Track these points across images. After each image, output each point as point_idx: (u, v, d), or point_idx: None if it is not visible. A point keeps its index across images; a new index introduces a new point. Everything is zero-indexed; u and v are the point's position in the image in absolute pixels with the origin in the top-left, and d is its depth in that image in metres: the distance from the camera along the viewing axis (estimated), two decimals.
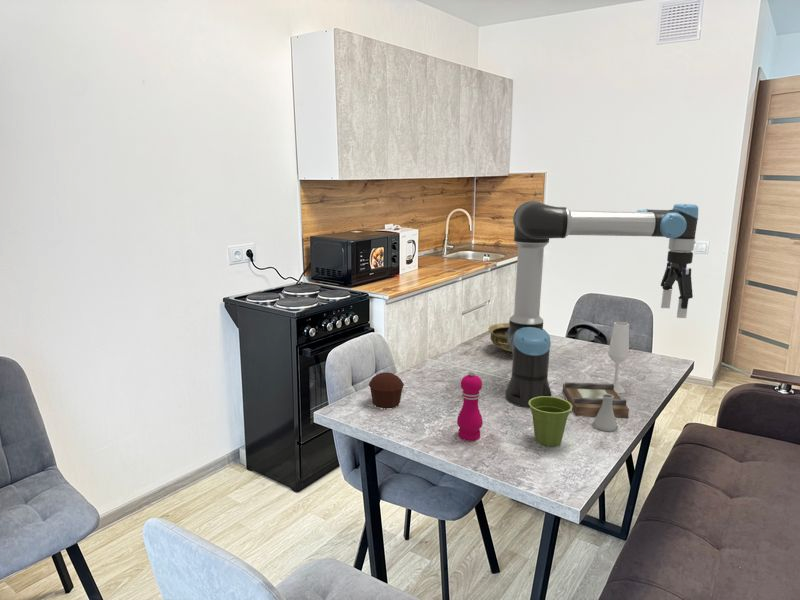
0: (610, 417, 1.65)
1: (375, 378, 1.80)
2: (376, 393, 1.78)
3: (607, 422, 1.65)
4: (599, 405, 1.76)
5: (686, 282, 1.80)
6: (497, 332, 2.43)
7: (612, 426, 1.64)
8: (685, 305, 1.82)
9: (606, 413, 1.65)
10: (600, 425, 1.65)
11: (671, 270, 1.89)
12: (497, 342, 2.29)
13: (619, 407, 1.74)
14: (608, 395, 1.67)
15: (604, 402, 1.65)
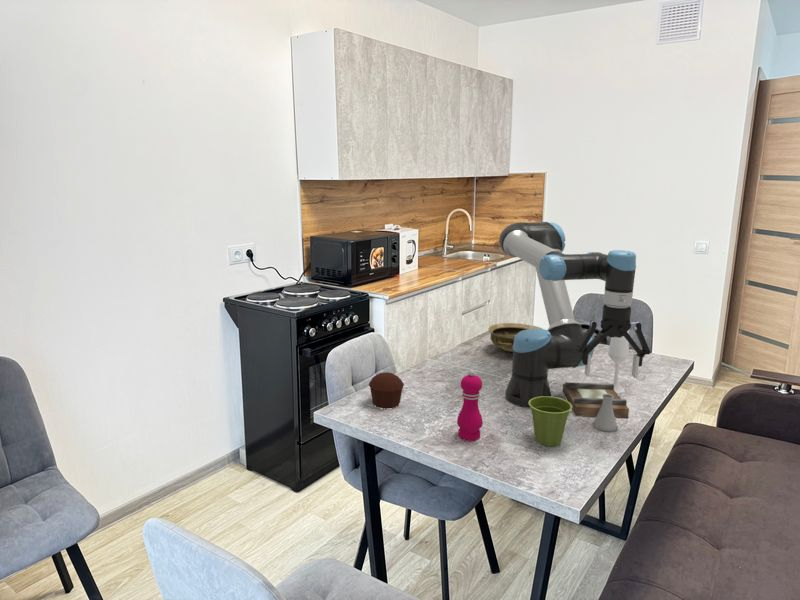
0: (610, 417, 1.65)
1: (375, 378, 1.80)
2: (376, 393, 1.78)
3: (607, 422, 1.65)
4: (599, 405, 1.76)
5: (585, 334, 1.62)
6: (497, 332, 2.43)
7: (612, 426, 1.64)
8: (583, 360, 1.63)
9: (606, 413, 1.65)
10: (600, 425, 1.65)
11: None
12: (497, 342, 2.29)
13: (619, 407, 1.74)
14: (608, 395, 1.67)
15: (604, 402, 1.65)
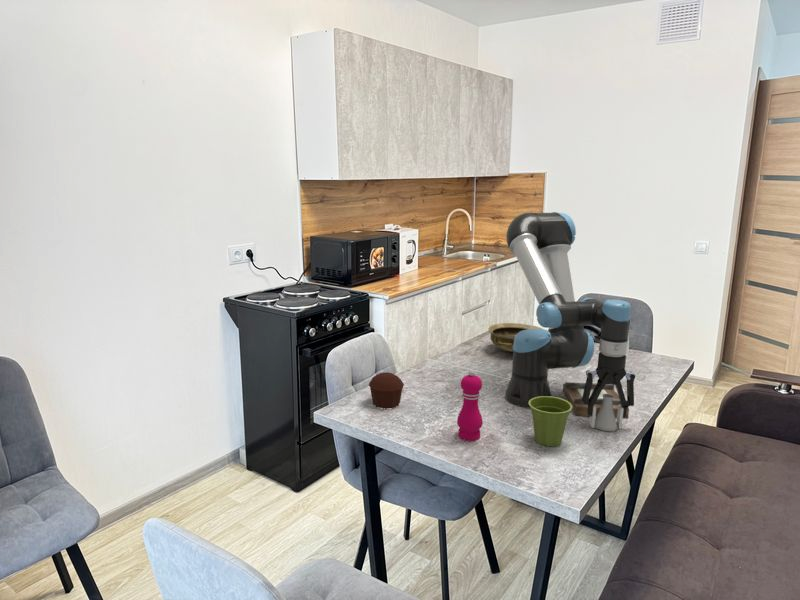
0: (610, 417, 1.65)
1: (375, 378, 1.80)
2: (376, 393, 1.78)
3: (607, 422, 1.65)
4: (599, 405, 1.76)
5: (585, 386, 1.66)
6: (497, 332, 2.43)
7: (612, 425, 1.64)
8: (588, 411, 1.67)
9: (606, 413, 1.65)
10: (600, 425, 1.65)
11: None
12: (497, 342, 2.29)
13: None
14: (608, 395, 1.67)
15: (604, 402, 1.65)
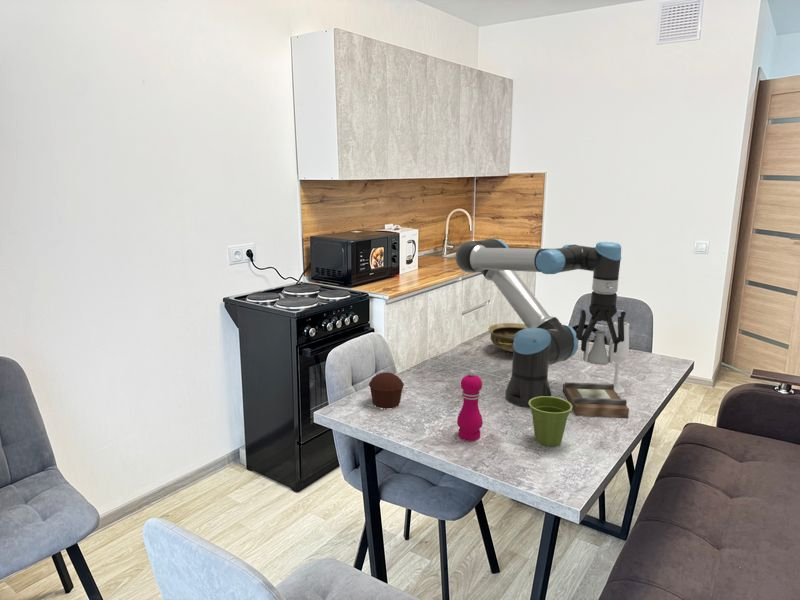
0: (602, 352, 1.77)
1: (375, 378, 1.80)
2: (376, 393, 1.78)
3: (599, 356, 1.77)
4: (599, 405, 1.76)
5: (579, 323, 1.79)
6: (497, 332, 2.43)
7: (604, 359, 1.77)
8: (581, 347, 1.80)
9: (599, 348, 1.78)
10: (592, 360, 1.78)
11: None
12: (497, 342, 2.29)
13: (619, 407, 1.74)
14: (600, 332, 1.79)
15: (597, 338, 1.78)
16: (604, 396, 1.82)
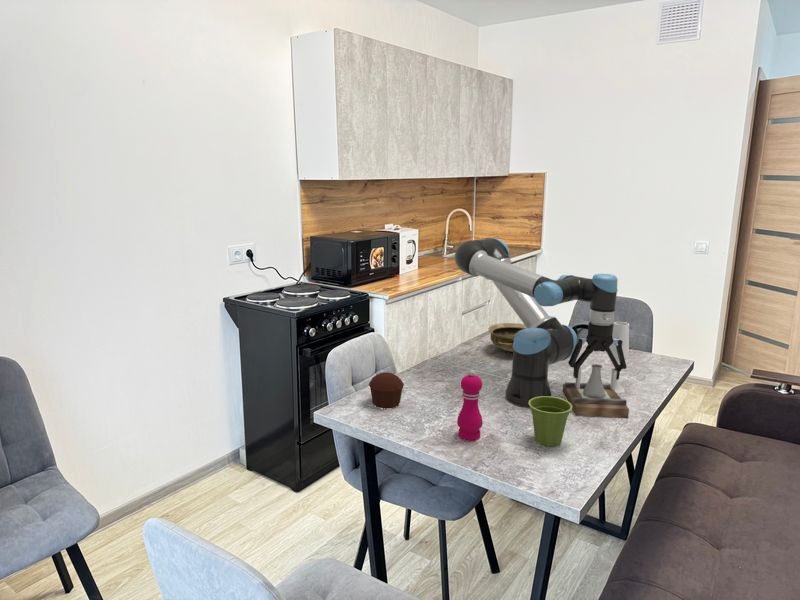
0: (599, 385, 1.80)
1: (375, 378, 1.80)
2: (376, 393, 1.78)
3: (596, 389, 1.80)
4: (599, 405, 1.76)
5: (574, 350, 1.81)
6: (497, 332, 2.43)
7: (601, 393, 1.80)
8: (574, 374, 1.82)
9: (595, 382, 1.81)
10: (589, 393, 1.81)
11: None
12: (497, 342, 2.29)
13: (619, 407, 1.74)
14: (597, 365, 1.82)
15: (593, 371, 1.81)
16: (604, 396, 1.82)
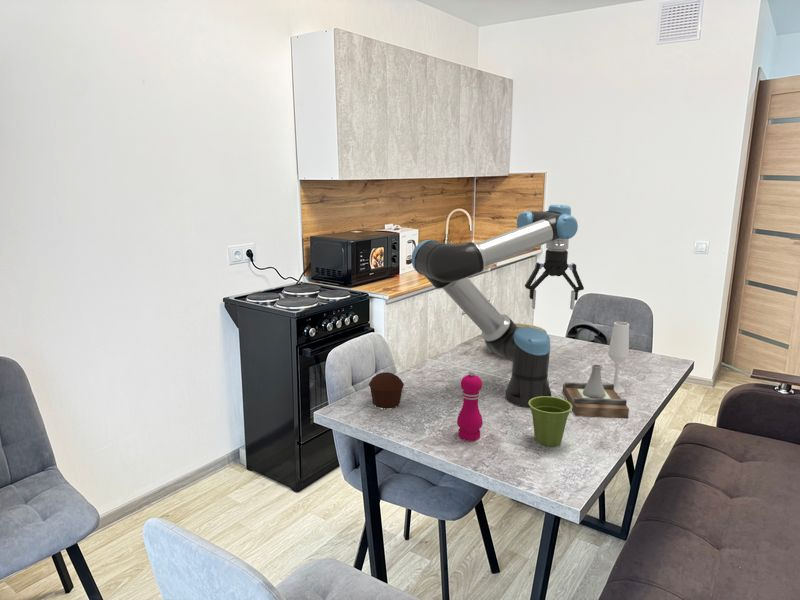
0: (599, 385, 1.80)
1: (375, 378, 1.80)
2: (376, 393, 1.78)
3: (596, 389, 1.80)
4: (599, 405, 1.76)
5: (531, 274, 1.99)
6: None
7: (601, 393, 1.80)
8: (529, 295, 2.00)
9: (595, 382, 1.81)
10: (589, 393, 1.81)
11: None
12: None
13: (619, 407, 1.74)
14: (597, 365, 1.83)
15: (593, 371, 1.81)
16: None
